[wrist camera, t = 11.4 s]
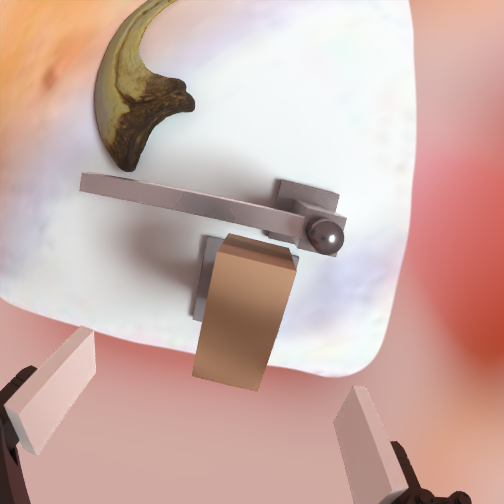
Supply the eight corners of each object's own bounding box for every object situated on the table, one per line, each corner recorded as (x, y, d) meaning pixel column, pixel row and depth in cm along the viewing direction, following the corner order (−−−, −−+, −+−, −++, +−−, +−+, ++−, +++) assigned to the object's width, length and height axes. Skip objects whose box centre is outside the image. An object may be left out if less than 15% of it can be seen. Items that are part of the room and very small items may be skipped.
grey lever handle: (128, 205, 26) (62, 222, 16) (137, 151, 25) (73, 142, 15) (323, 249, 26) (356, 291, 16) (337, 194, 25) (382, 204, 15)
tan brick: (260, 315, 27) (257, 391, 17) (217, 304, 27) (191, 375, 17) (283, 232, 25) (296, 271, 15) (236, 220, 25) (217, 251, 15)
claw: (198, 165, 25) (187, 162, 22) (97, 173, 26) (78, 173, 22) (205, -14, 21) (198, -32, 18) (114, 5, 21) (101, -8, 18)
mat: (194, 316, 28) (192, 319, 28) (208, 235, 26) (207, 237, 26) (276, 335, 28) (276, 338, 28) (298, 256, 26) (299, 258, 26)
